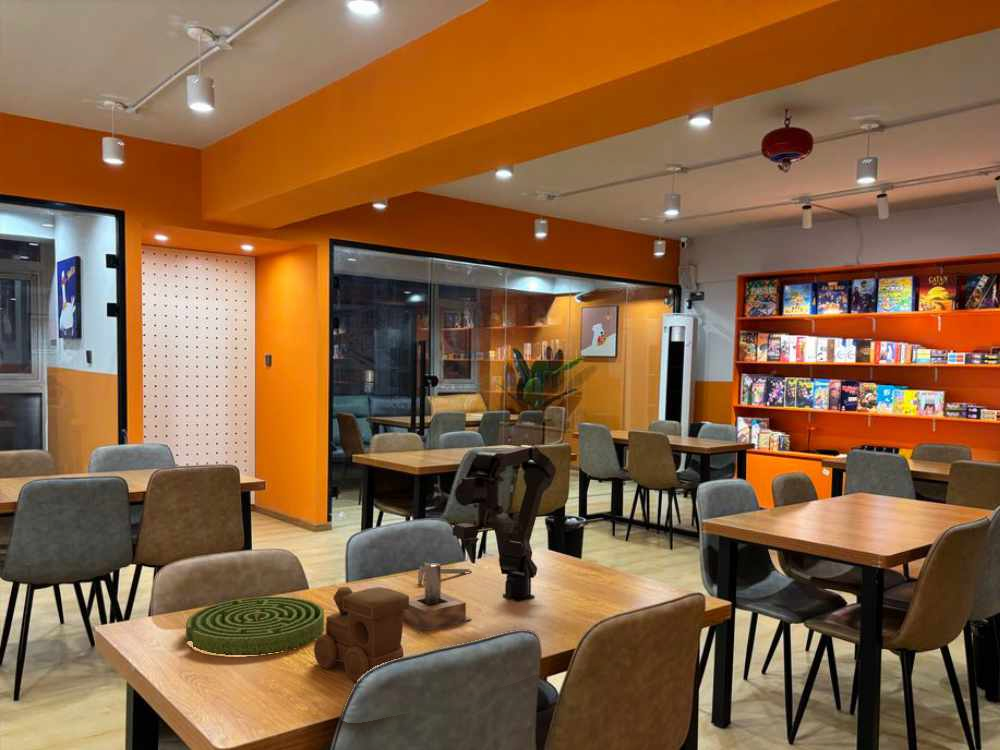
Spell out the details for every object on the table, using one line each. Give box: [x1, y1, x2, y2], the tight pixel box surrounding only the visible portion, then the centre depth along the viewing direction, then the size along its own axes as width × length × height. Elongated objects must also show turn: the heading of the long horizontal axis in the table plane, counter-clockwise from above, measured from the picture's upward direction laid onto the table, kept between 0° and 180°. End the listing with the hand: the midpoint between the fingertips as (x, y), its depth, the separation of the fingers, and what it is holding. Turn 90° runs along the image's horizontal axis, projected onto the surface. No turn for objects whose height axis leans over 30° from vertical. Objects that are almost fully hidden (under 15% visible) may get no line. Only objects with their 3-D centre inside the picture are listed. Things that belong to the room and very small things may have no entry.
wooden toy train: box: [313, 586, 410, 682], centre depth 163 cm, size 20×11×17 cm, turn 49°
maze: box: [185, 596, 325, 655], centre depth 184 cm, size 31×31×5 cm
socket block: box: [403, 592, 472, 633], centre depth 196 cm, size 14×14×4 cm
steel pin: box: [424, 562, 442, 606], centre depth 196 cm, size 4×4×13 cm
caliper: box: [417, 562, 471, 585], centre depth 234 cm, size 20×1×6 cm, turn 134°
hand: (487, 560), depth 203 cm, fingers open, 9 cm apart
